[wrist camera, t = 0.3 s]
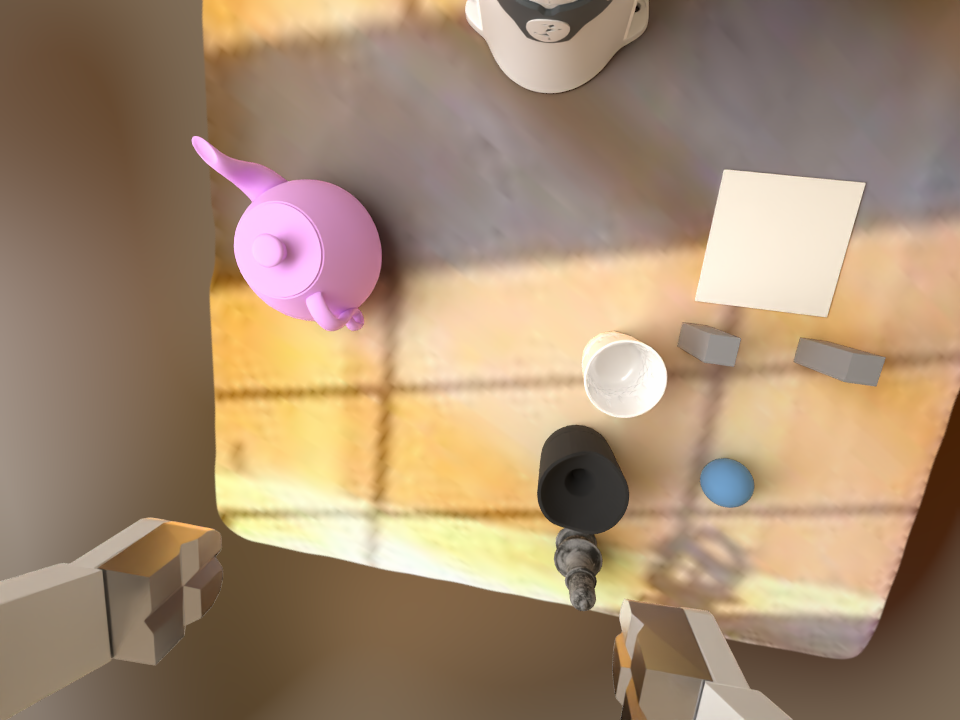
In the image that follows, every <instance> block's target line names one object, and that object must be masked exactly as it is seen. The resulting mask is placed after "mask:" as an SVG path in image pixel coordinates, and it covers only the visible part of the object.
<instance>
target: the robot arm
mask: <svg viewBox="0 0 960 720" xmlns="http://www.w3.org/2000/svg"><path fill="white" fill-rule="evenodd" d="M636 6H637V7H639V11H638V12H635V8H636ZM465 12H466V18H467V21H468V23H469V24H470V25H471V26H472V27H473V28H474V30H476V31H477V32H478V33H479V34H480V35H481V36H482V37H484V38H485V40H486V41H487V43H488V45H489V47H490V50H491V52H492V54H493V56H494V58H495V60H496V62H497V63H498V65H499V66H500V68H501V69H502V70H503V72H504V73H505V74H506V75H507V76H508V77H509V78H510V79H512V80H513V81H514V82H515V83H517V84H519V85H520V86H522V87H524V88H526V89H529V90H532V91H535V92H541V93H559V92H564V91H568V90H571V89H574V88H576V87H579V86H581V85H582V84H584V83H586V82H587V81H589V80H590V79H592V78H593V77H594V76H595V75H597V74H598V73H599V72H600V71H601V70H602V69H603V68H604V67H605V65H606V64H607V63H608V62H609V60H610V59H611V58H612V57H613V55H614V54H615V53H616V52H617V51H618V50H619V49H620V48H621V47H623V46H625V45H627V44H629V43H630V42H632V41H634V40H635V39H637V38H638V37H639V36H641V35H642V34H643V33H644V31H645V30H646V28H647V24H648V19H649V0H467V3H466V8H465ZM221 549H222V541H221V534H220V533H219V532H218V531H216V530H214V529H210V528H205V527H200V526H195V525H190V524H185V523H179V522H174V521H168V520H162V519H157V518H145V519H141V520H139V521H137V522H136V523H134V524H133V525H131V526H130V527H128V528H126V529H125V530H123V531H121V532H120V533H118V534H117V535H115V536H113V537H112V538H110V539H109V540H107V541H105V542H104V543H102V544H101V545H99V546H98V547H96V548H94V549H93V550H91V551H90V552H88V553H86V554H85V555H84V556H82V557H80V558H78V559H77V560H75V561H74V562H72V563H70V564H66V563H60V564H57V565H54V566H50V567H47V568H43V569H40V570H37V571H33V572H30V573H27V574H24V575H20V576H17V577H14V578H10V579H7V580H3V581H0V720H6V719H8V718H10V717H12V716H13V715H15V714H17V713H19V712H21V711H22V710H24V709H26V708H28V707H29V706H31V705H33V704H35V703H37V702H38V701H40V700H42V699H44V698H46V697H47V696H49V695H51V694H53V693H55V692H56V691H58V690H60V689H61V688H63V687H65V686H67V685H69V684H71V683H72V682H74V681H76V680H78V679H80V678H81V677H83V676H85V675H87V674H88V673H90V672H92V671H94V670H96V669H97V668H99V667H101V666H103V665H104V664H106V663H108V662H110V661H111V658H114V659H120V660H126V661H132V662H138V663H144V664H150V665H157V663H158V662H159V661H160V660H161V659H162V658H163V657H164V656H165V655H166V654H167V653H168V652H169V651H170V650H171V649H172V648H173V647H174V646H175V645H176V644H177V643H178V642H179V641H180V640H181V639H182V638H183V637H184V632H185V625H187V624H190V623H192V622H194V621H196V620H198V619H200V618H202V617H203V616H204V615H205V613H206V612H207V611H208V610H209V609H210V608H211V607H212V606H213V604H214V602H215V600H216V598H217V596H218V594H219V592H220V590H221V585H222V581H223V568H222V566H221V564H220V563H219V562H218V560H217V558H216V555H217V554H218V553H219V552H220V551H221ZM619 618H620V623H621V628H622V633H620V634H619V635H618V636H617V637H616V638H615V644H614V651H613V670H612V671H613V684H614V689H615V696H616V698H617V699H618V701H619V702H620V703H621V704H622V706H623V708H622V713H621V720H792V719H791V718H790V717H789V716H788V715H787V714H786V713H784V712H783V711H782V710H780V708H779V707H777V706H776V705H775V704H774V703H773V702H772V701H770V700H769V699H768V698H767V697H766V696H765V695H763V694H762V693H761V692H760V691H756V690H751V689H750V688H749V686H748V684H747V682H746V680H745V678H744V676H743V674H742V672H741V670H740V668H739V666H738V664H737V662H736V660H735V658H734V656H733V654H732V652H731V650H730V648H729V646H728V644H727V642H726V640H725V638H724V636H723V634H722V632H721V630H720V628H719V626H718V624H717V622H716V620H715V618H714V616H713V615H712V614H711V613H710V612H709V611H706V610H699V609H692V608H685V607H679V608H677V607H671V606H665V605H659V604H653V603H647V602H641V601H635V600H629V599H624V601H623V603H622V606H621V611H620V616H619Z"/></svg>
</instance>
